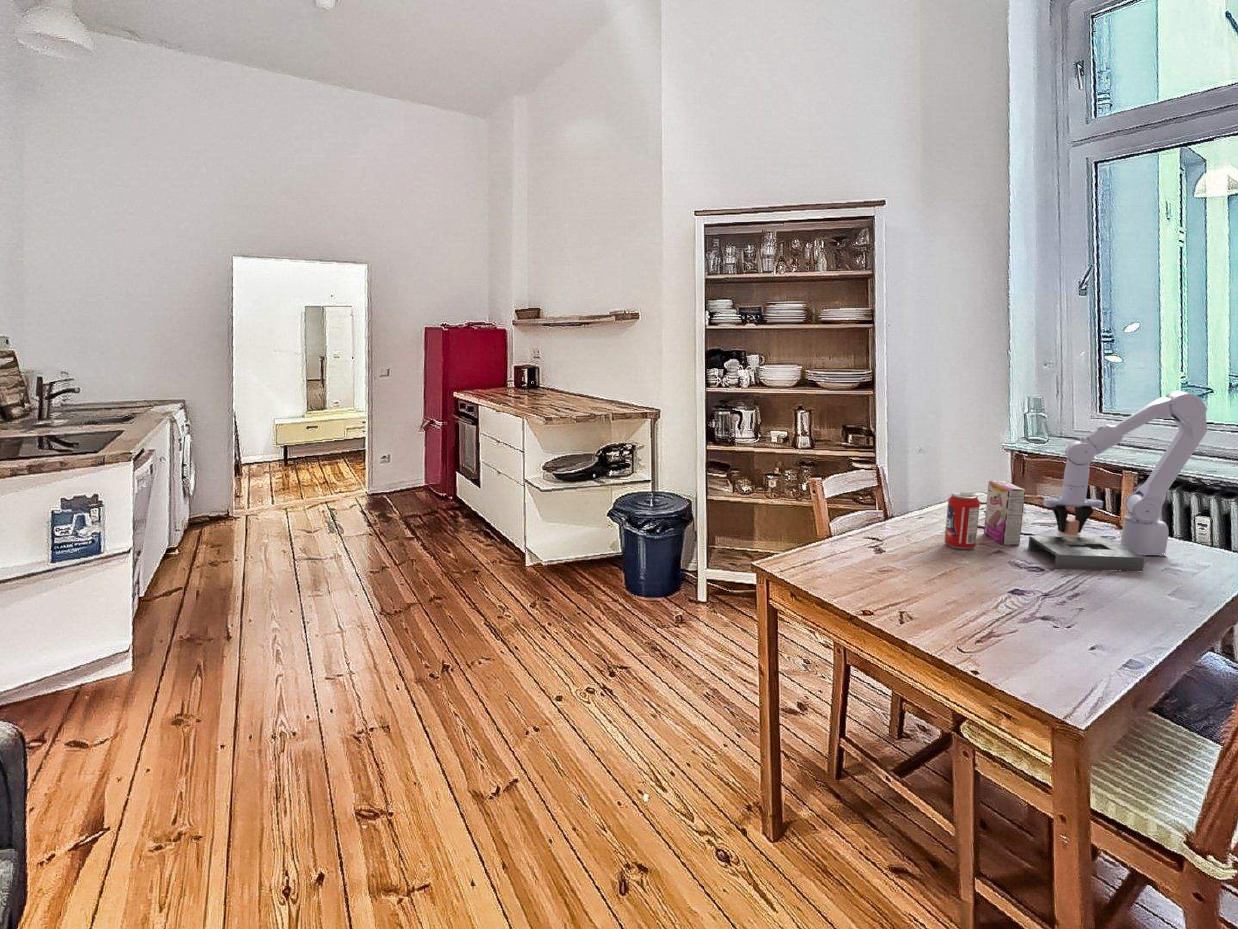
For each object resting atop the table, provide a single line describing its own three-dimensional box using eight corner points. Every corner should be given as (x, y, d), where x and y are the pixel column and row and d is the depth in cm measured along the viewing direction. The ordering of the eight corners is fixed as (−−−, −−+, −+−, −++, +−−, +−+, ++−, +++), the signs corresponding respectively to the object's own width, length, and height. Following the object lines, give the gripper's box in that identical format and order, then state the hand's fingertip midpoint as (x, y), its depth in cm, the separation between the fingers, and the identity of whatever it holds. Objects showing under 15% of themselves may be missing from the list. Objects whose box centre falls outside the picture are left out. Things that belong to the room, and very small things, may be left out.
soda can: (972, 552, 183) (977, 499, 180) (941, 547, 188) (946, 495, 185) (977, 545, 189) (982, 493, 186) (947, 540, 194) (952, 490, 191)
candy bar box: (982, 533, 200) (987, 480, 197) (999, 533, 200) (1004, 480, 196) (1002, 545, 189) (1008, 489, 186) (1020, 545, 189) (1026, 489, 185)
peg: (1072, 541, 192) (1075, 517, 191) (1082, 547, 187) (1086, 522, 186) (1052, 540, 193) (1055, 516, 192) (1062, 546, 188) (1065, 521, 186)
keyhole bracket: (1106, 551, 183) (1108, 538, 183) (1142, 572, 168) (1145, 557, 167) (1028, 548, 186) (1029, 535, 185) (1056, 568, 170) (1058, 554, 170)
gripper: (1095, 482, 190) (1089, 528, 192) (1040, 481, 191) (1034, 526, 194) (1109, 487, 183) (1103, 535, 185) (1052, 486, 185) (1046, 533, 187)
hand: (1069, 531), depth 189 cm, fingers open, 4 cm apart
